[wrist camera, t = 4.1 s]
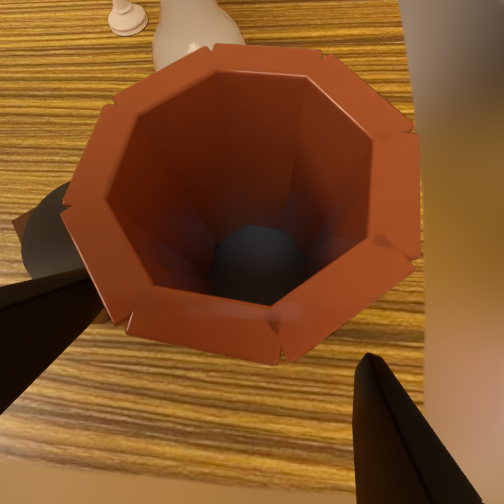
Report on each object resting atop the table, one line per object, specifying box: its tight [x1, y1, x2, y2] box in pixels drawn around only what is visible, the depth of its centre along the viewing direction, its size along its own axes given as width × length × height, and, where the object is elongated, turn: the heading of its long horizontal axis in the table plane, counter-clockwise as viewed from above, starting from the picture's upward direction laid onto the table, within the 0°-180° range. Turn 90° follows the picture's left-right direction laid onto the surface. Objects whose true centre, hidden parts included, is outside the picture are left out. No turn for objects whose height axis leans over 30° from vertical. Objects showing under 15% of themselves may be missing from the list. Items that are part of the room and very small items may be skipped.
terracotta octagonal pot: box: [60, 43, 421, 366], centre depth 8 cm, size 6×6×8 cm
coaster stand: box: [12, 182, 110, 324], centre depth 20 cm, size 9×9×6 cm
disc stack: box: [210, 224, 305, 351], centre depth 16 cm, size 9×9×9 cm
